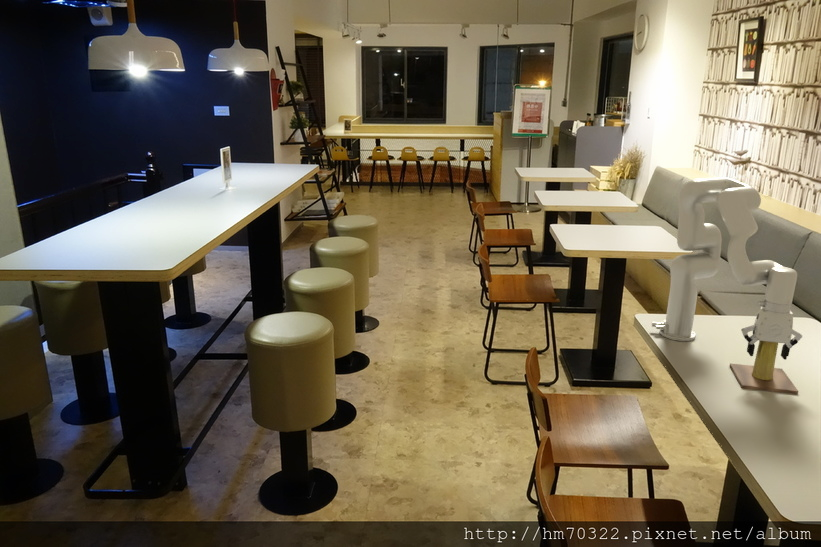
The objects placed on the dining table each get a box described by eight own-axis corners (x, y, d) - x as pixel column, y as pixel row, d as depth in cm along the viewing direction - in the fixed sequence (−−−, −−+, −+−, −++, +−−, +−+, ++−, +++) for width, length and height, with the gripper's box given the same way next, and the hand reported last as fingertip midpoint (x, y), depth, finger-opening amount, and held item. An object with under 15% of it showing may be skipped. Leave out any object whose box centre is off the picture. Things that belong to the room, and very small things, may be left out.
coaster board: (741, 387, 198) (742, 385, 197) (729, 366, 213) (730, 363, 212) (797, 394, 194) (798, 391, 194) (781, 371, 209) (782, 368, 209)
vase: (775, 381, 200) (784, 340, 196) (754, 379, 201) (762, 338, 197) (769, 373, 206) (777, 332, 201) (749, 371, 207) (756, 331, 202)
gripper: (749, 307, 194) (740, 358, 199) (811, 313, 190) (800, 364, 196) (743, 299, 201) (734, 348, 206) (803, 304, 197) (792, 354, 202)
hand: (766, 356), depth 201 cm, fingers open, 9 cm apart
